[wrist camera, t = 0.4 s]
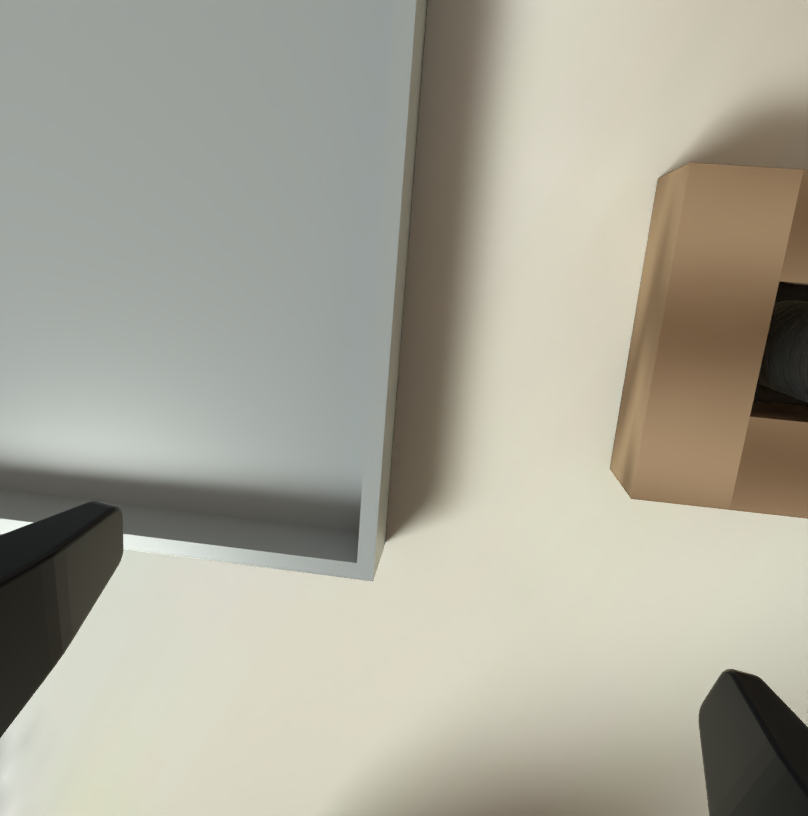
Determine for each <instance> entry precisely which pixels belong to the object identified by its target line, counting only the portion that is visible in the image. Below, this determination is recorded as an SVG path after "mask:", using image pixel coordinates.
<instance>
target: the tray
mask: <svg viewBox="0 0 808 816" xmlns="http://www.w3.org/2000/svg"><path fill="white" fill-rule="evenodd" d="M427 1H428V0H0V534H5V533H7V532H10V531H13V530H15V529H18V528H21V527H23V526H26V525H29V524H31V523H34V522H36V521H39V520H42V519H44V518H47V517H50V516H52V515H55V514H58V513H60V512H63V511H66V510H68V509H71V508H73V507H76V506H79V505H81V504H84V503H87V502H90V501H100V502H103V503H107V504H111V505H115V506H117V507H119V508H120V509H121V511H122V515H123V545H124V548H123V549H125V550H132V551H140V552H148V553H156V554H164V555H172V556H179V557H187V558H195V559H203V560H211V561H219V562H226V563H234V564H242V565H250V566H258V567H266V568H273V569H281V570H289V571H297V572H305V573H312V574H320V575H328V576H336V577H344V578H352V579H359V580H367V581H373V580H374V577H375V574H376V570H377V567H378V564H379V561H380V558H381V554H382V551H383V548H384V545H385V538H386V525H387V512H388V499H389V487H390V474H391V461H392V448H393V436H394V423H395V410H396V397H397V385H398V372H399V359H400V346H401V333H402V321H403V308H404V295H405V282H406V270H407V257H408V244H409V231H410V218H411V206H412V193H413V180H414V167H415V155H416V142H417V129H418V116H419V103H420V91H421V78H422V65H423V52H424V40H425V27H426V14H427Z"/></svg>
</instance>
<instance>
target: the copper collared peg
mask: <svg viewBox="0 0 808 816" xmlns="http://www.w3.org/2000/svg"><path fill="white" fill-rule="evenodd" d="M757 383H758V384H760V385H762V386H765V387H767V388H770V389H772V390H775V391H777V392H780V393H783V394H785V395H788V396H790V397H793V398H795V399H798V400H801V401H803V402H806V403H808V301H798V300H783V301H778V302H775V303H774V308H773V313H772V317H771V322H770V326H769V331H768V335H767V340H766V345H765V349H764V354H763V358H762V363H761V368H760V372H759V377H758V381H757Z"/></svg>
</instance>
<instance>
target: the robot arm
mask: <svg viewBox="0 0 808 816" xmlns="http://www.w3.org/2000/svg"><path fill="white" fill-rule="evenodd" d="M123 548H124V545H123V515H122V511H121V509H120V508H119V507H117V506H115V505H111V504H107V503H103V502H100V501H90V502H87V503H84V504H81V505H79V506H76V507H73V508H71V509H68V510H66V511H63V512H60V513H58V514H55V515H52V516H50V517H47V518H44V519H42V520H39V521H36V522H34V523H31V524H29V525H26V526H23V527H21V528H18V529H15V530H13V531H10V532H7V533H5V534H2V535H0V738H1V736H2V735H3V734H4V732H5V731H6V730H7V728H8V727H9V726H10V724H11V723H12V722H13V721H14V719H15V718H16V717H17V715H18V714H19V713H20V711H21V710H22V709H23V707H24V706H25V705H26V703H27V702H28V701H29V700H30V698H31V697H32V696H33V694H34V693H35V692H36V690H37V689H38V688H39V686H40V685H41V684H42V682H43V681H44V680H45V678H46V677H47V676H48V675H49V673H50V672H51V671H52V669H53V668H54V667H55V665H56V664H57V662H58V661H59V660H60V658H61V657H62V655H63V654H64V653H65V651H66V649H67V648H68V646H69V645H70V643H71V642H72V640H73V639H74V637H75V635H76V634H77V632H78V630H79V629H80V627H81V626H82V624H83V622H84V621H85V619H86V617H87V616H88V614H89V612H90V611H91V609H92V608H93V606H94V604H95V603H96V601H97V599H98V598H99V596H100V594H101V593H102V591H103V590H104V588H105V586H106V585H107V583H108V581H109V580H110V578H111V576H112V575H113V573H114V572H115V570H116V568H117V567H118V565H119V563H120V561H121V558H122V555H123ZM699 730H700V738H701V747H702V756H703V764H704V773H705V781H706V790H707V799H708V807H709V816H808V727H807V726H806V725H805V724H804V723H803V722H802V721H801V720H800V719H799V718H798V716H797V715H796V714H795V713H794V712H793V711H792V710H791V709H790V708H789V707H788V706H787V705H786V704H785V703H784V702H783V701H782V700H781V699H780V698H779V697H778V696H777V695H776V694H775V693H774V692H773V691H772V689H771V688H770V687H769V686H768V685H767V684H766V683H765V682H764V681H763V680H762V679H761V678H759V677H758V676H755V675H753V674H749V673H745V672H742V671H738V670H734V669H727V670H725V671H724V672H722V674H721V675H720V676H719V678H718V680H717V681H716V683H715V684H714V686H713V687H712V689H711V690H710V692H709V694H708V695H707V697H706V698H705V700H704V701H703V703H702V705H701V708H700V711H699Z"/></svg>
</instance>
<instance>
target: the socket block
mask: <svg viewBox="0 0 808 816" xmlns="http://www.w3.org/2000/svg"><path fill="white" fill-rule="evenodd" d="M779 283H780V284H792V285H805V286H808V170H801V169H785V168H769V167H754V166H738V165H722V164H707V163H689V164H687V165H684V166H682V167H680V168H678V169H676V170H674V171H672V172H670V173H668V174H666V175H664V176H662V177H660V178H658V181H657V187H656V193H655V199H654V205H653V211H652V217H651V223H650V229H649V235H648V241H647V247H646V253H645V260H644V266H643V272H642V278H641V284H640V290H639V296H638V302H637V308H636V314H635V320H634V326H633V332H632V338H631V344H630V350H629V356H628V362H627V368H626V374H625V380H624V386H623V392H622V398H621V404H620V410H619V416H618V422H617V428H616V434H615V440H614V446H613V452H612V458H611V464H610V470H611V471H612V472H613V474H614V475H615V477H616V478H617V480H618V481H619V482H620V484H621V485H622V487H623V488H624V489H625V491H626V492H627V494H628V495H629V496H630V498H631V499H638V500H647V501H656V502H665V503H674V504H683V505H692V506H701V507H710V508H719V509H728V510H736V511H745V512H754V513H763V514H772V515H781V516H790V517H799V518H808V406H803V405H792V404H782V403H772V402H761V401H753V400H754V395H755V391H756V386H757V381H758V377H759V372H760V368H761V363H762V358H763V354H764V349H765V345H766V340H767V335H768V331H769V326H770V322H771V317H772V313H773V308H774V303H775V299H776V294H777V290H778V285H779Z"/></svg>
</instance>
